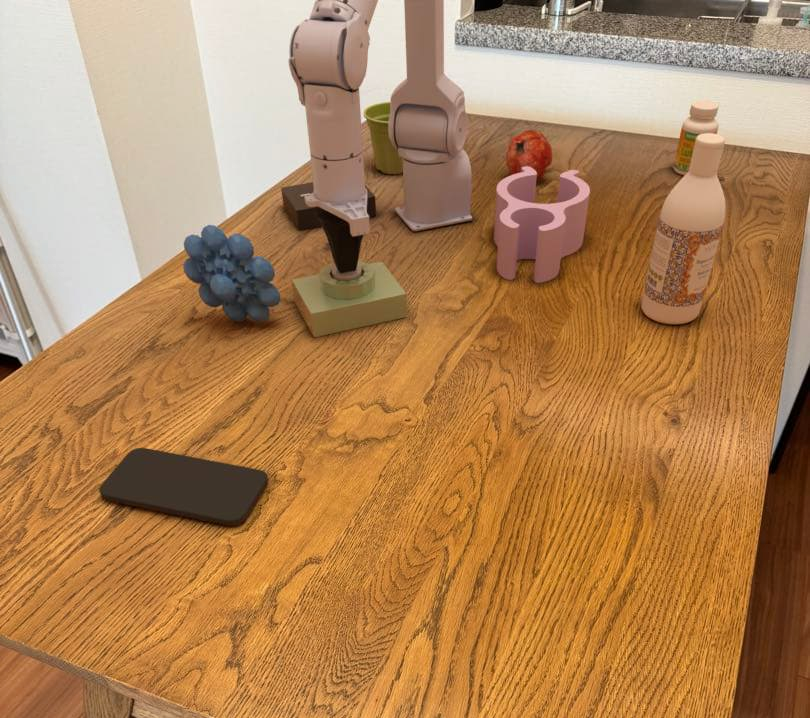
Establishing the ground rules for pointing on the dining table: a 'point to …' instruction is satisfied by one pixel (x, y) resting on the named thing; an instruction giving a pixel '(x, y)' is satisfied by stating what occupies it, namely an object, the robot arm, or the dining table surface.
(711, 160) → the bath foam
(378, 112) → the plant pot
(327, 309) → the green button base
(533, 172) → the clip
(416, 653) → the dining table surface
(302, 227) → the dial panel
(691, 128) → the supplement bottle
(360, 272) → the pink push button
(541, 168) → the pomegranate
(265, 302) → the grapes
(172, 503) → the phone
